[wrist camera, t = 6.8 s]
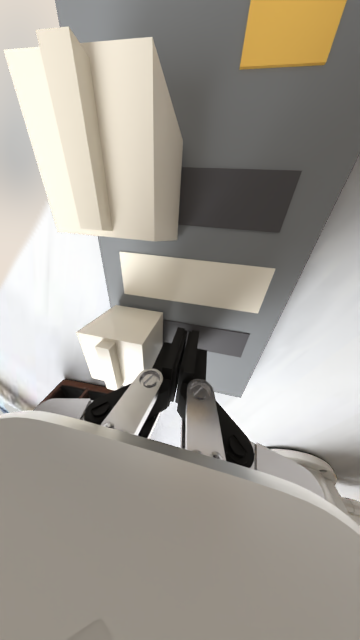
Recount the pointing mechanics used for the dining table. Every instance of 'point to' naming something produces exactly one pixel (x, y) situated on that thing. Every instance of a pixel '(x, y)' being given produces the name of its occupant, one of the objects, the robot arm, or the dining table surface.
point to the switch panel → (238, 160)
